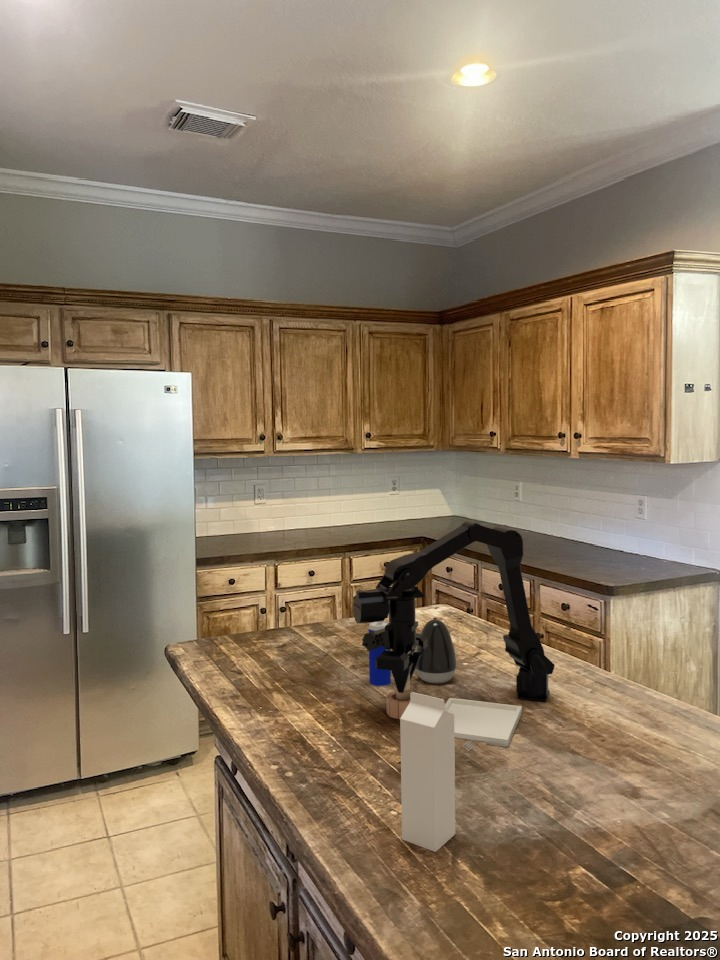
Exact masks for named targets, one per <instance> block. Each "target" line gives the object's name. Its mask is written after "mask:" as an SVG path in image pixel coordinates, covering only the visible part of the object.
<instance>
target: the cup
mask: <svg viewBox="0 0 720 960" xmlns="http://www.w3.org/2000/svg"><path fill="white" fill-rule="evenodd" d="M411 692H412V691H411V690H410V694H411ZM414 693H416V692H414ZM409 703H410V700H409V701H398V700H396V691H392V692H390V693H388V694H387V695H386V714H387V715H388V716H389V717H390V718H392V719H397V720H400V718H401V716H402V715H403V713H404V711H405V710H406V708H407V706H408V705H409Z"/></svg>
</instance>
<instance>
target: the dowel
mask: <svg viewBox="0 0 720 960" xmlns="http://www.w3.org/2000/svg"><path fill="white" fill-rule="evenodd" d="M410 691H411V681H410V674H409V677H408V680H407V683H406V686H405V689H404V692H403V693H399V692H398V690H397V687H396V686H395V692H396V700H398V701H409V700H410Z"/></svg>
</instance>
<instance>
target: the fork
mask: <svg viewBox="0 0 720 960" xmlns="http://www.w3.org/2000/svg"><path fill="white" fill-rule="evenodd" d="M476 745H477V742H475V741H474V740H471V739H470V740H468V741H466V742H465V743H464V744H463V745H462V747H464V748H465V750H467V751H468V752H469V751H470V750H472V749H473V748H474V747H475V746H476ZM397 763H398V764H401V760H400V761H398V762H397Z"/></svg>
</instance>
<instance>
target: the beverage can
mask: <svg viewBox="0 0 720 960" xmlns="http://www.w3.org/2000/svg"><path fill="white" fill-rule="evenodd" d="M388 623H389V622H387V621H379V622H369V625H368V633H370V632H371V631H377V630H380V629H384V628H385V626H386V625H387V624H388ZM384 651H391V649H390V650H388V649H384V646H383V647H380V648H376V649H373V650H372V651H368V668H369V669H368V671H369V672H368V673H369V674H368V676H369V679H368V680H369V684H370V685H371V686H374V687H386V686H389V685H390V684H391V682H392V680H391V679H392V675H391V674H392V672H391V670H383V669H377V668H376V667H375V659H376V658H377V657H378V656H379V655H380V654H381V653H382V652H384Z"/></svg>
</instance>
